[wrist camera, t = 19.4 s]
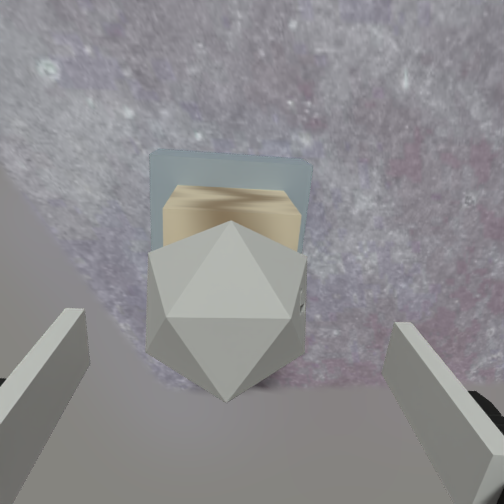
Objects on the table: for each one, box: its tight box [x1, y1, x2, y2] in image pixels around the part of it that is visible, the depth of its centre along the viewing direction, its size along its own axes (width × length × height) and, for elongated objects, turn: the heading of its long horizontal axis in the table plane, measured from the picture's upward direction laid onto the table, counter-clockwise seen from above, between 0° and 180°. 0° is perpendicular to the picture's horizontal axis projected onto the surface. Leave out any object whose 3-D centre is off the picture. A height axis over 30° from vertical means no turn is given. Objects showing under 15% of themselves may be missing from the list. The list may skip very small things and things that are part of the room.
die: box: [146, 221, 307, 403], centre depth 19 cm, size 8×9×10 cm
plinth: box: [149, 149, 313, 254], centre depth 31 cm, size 12×12×4 cm
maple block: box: [163, 185, 302, 252], centre depth 26 cm, size 8×8×7 cm
